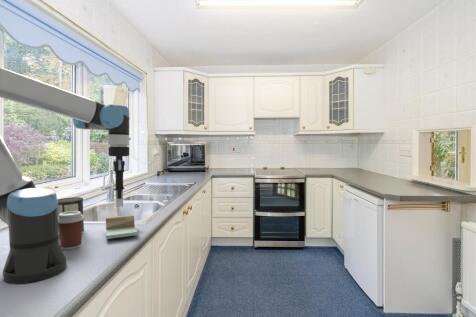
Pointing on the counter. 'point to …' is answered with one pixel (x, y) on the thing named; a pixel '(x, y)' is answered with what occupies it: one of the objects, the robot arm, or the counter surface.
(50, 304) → the counter surface
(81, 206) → the coffee can
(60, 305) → the counter surface
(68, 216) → the coffee cup
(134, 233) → the green square panel
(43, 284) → the counter surface
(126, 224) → the brown rectangular block
